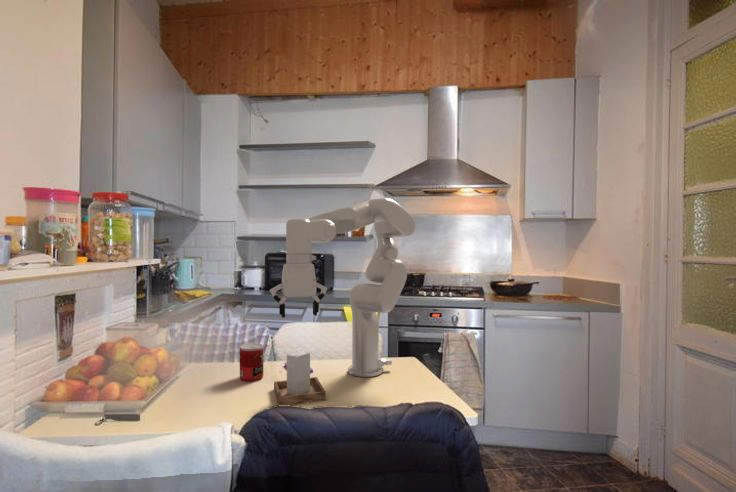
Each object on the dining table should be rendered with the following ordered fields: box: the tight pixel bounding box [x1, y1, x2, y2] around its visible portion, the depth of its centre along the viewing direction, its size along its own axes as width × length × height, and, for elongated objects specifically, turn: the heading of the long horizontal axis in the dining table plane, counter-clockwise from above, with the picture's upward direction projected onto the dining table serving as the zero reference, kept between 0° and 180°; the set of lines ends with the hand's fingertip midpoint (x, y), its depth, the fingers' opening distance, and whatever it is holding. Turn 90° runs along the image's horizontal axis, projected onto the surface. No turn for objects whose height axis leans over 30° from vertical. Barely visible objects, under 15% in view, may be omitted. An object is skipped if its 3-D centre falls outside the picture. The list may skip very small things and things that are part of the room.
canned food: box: [239, 342, 265, 383], centre depth 136 cm, size 8×8×11 cm
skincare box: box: [286, 350, 311, 395], centre depth 122 cm, size 6×4×12 cm
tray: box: [273, 376, 327, 406], centre depth 122 cm, size 14×14×2 cm
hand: (299, 315), depth 121 cm, fingers open, 9 cm apart
